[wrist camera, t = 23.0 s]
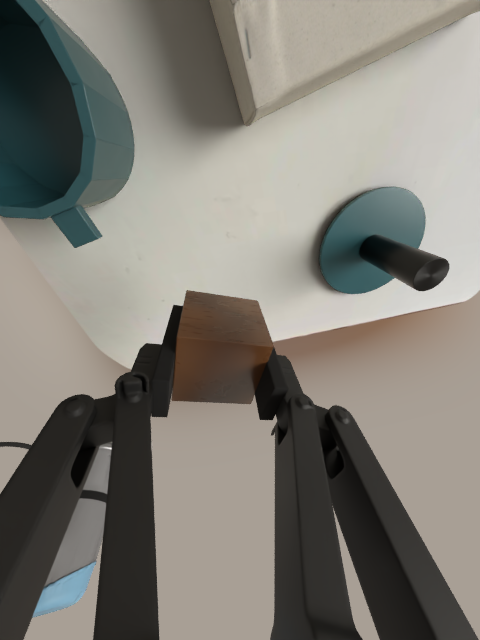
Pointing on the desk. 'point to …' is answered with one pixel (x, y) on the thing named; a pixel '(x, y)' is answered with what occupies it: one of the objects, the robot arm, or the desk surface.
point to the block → (219, 349)
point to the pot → (57, 123)
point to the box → (316, 42)
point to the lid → (379, 244)
